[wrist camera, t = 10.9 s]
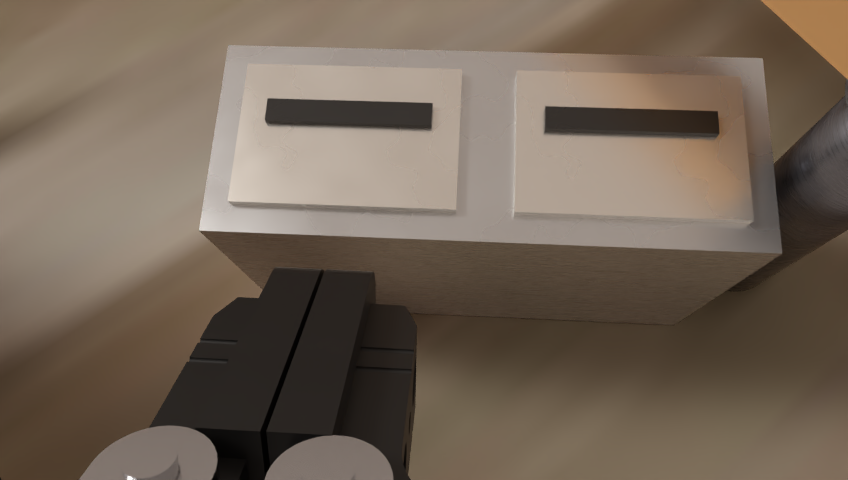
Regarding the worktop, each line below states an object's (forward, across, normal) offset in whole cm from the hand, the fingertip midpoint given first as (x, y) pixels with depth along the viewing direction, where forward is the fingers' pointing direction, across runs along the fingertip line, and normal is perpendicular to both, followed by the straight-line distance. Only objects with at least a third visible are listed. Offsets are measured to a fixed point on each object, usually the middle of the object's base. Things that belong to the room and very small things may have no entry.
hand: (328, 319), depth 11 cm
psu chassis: (+18, -5, +8) cm, 20 cm away
